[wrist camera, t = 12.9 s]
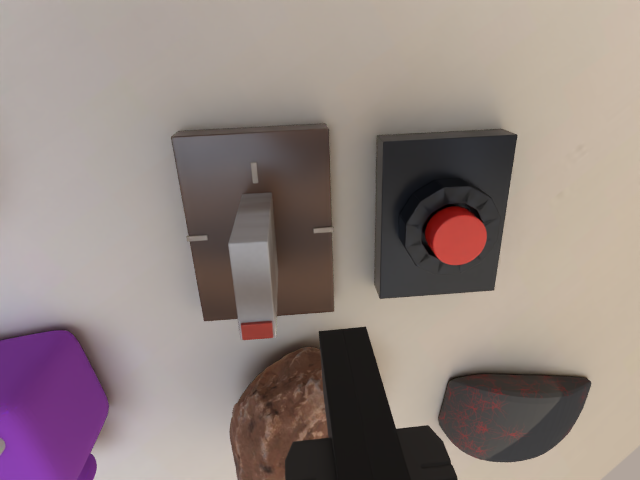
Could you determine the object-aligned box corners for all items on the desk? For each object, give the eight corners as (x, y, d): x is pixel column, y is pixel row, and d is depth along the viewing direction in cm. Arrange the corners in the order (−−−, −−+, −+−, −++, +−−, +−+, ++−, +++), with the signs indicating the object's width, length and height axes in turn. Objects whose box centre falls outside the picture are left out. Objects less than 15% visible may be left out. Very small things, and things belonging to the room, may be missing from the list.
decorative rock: (272, 452, 42) (269, 564, 33) (203, 376, 38) (177, 482, 28) (392, 394, 40) (424, 497, 31) (334, 308, 36) (351, 398, 27)
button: (426, 207, 29) (434, 216, 27) (479, 204, 29) (490, 213, 27) (423, 255, 30) (430, 267, 29) (473, 252, 30) (484, 263, 29)
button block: (376, 135, 30) (389, 147, 26) (502, 128, 30) (532, 139, 27) (374, 284, 35) (384, 312, 31) (482, 276, 35) (505, 303, 32)
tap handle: (242, 193, 29) (227, 245, 21) (271, 192, 29) (267, 243, 22) (250, 272, 31) (240, 343, 24) (278, 270, 31) (276, 340, 24)
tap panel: (176, 130, 29) (168, 137, 27) (327, 123, 29) (330, 128, 27) (206, 307, 35) (202, 323, 33) (332, 298, 35) (335, 313, 33)
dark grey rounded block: (451, 366, 39) (468, 398, 36) (590, 369, 41) (621, 401, 37) (434, 431, 42) (448, 467, 39) (563, 432, 44) (588, 467, 40)
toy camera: (47, 458, 40) (-22, 580, 31) (-57, 350, 34) (-179, 460, 25) (152, 421, 39) (112, 535, 30) (62, 304, 34) (-20, 401, 25)
